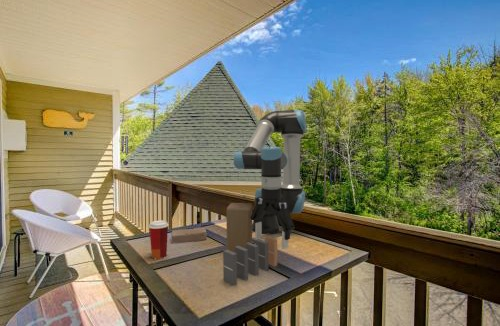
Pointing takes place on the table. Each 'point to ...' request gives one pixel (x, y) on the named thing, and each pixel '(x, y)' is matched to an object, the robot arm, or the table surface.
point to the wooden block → (239, 225)
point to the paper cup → (158, 238)
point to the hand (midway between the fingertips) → (271, 243)
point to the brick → (188, 235)
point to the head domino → (272, 250)
